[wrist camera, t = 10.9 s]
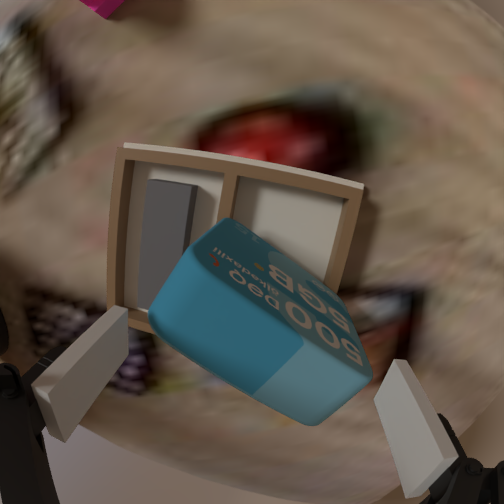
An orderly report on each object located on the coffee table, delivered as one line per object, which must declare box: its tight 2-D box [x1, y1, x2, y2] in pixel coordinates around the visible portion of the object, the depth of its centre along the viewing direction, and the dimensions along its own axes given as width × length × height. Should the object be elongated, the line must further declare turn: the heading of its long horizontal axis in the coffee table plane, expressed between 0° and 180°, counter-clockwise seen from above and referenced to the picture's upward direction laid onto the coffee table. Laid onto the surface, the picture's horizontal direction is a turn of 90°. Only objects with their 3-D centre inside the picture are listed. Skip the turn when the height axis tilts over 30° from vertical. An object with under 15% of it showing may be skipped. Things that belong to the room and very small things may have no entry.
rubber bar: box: [137, 179, 198, 310], centre depth 26 cm, size 4×12×2 cm, turn 170°
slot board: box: [107, 143, 364, 334], centre depth 27 cm, size 22×18×3 cm
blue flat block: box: [148, 218, 373, 426], centre depth 19 cm, size 12×4×12 cm, turn 54°
